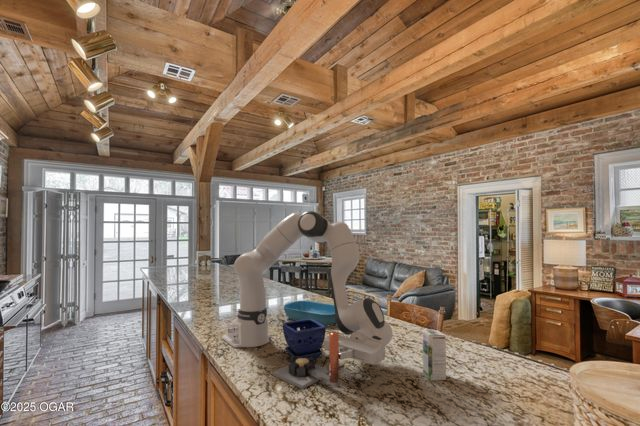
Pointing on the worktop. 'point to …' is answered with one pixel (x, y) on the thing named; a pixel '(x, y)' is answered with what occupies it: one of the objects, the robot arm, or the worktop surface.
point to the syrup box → (434, 355)
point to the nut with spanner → (310, 367)
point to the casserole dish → (311, 311)
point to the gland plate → (299, 380)
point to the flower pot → (304, 338)
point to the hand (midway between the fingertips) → (337, 356)
